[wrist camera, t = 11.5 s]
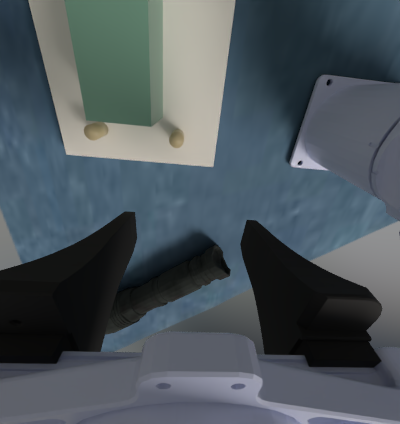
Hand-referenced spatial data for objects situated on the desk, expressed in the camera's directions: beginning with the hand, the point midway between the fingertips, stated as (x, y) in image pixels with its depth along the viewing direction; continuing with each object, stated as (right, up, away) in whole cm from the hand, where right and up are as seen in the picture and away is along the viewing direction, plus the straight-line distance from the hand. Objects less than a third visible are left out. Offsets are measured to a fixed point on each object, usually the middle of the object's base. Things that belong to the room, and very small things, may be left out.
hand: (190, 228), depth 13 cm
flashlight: (-5, -9, +17) cm, 20 cm away
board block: (-4, +13, +2) cm, 14 cm away
